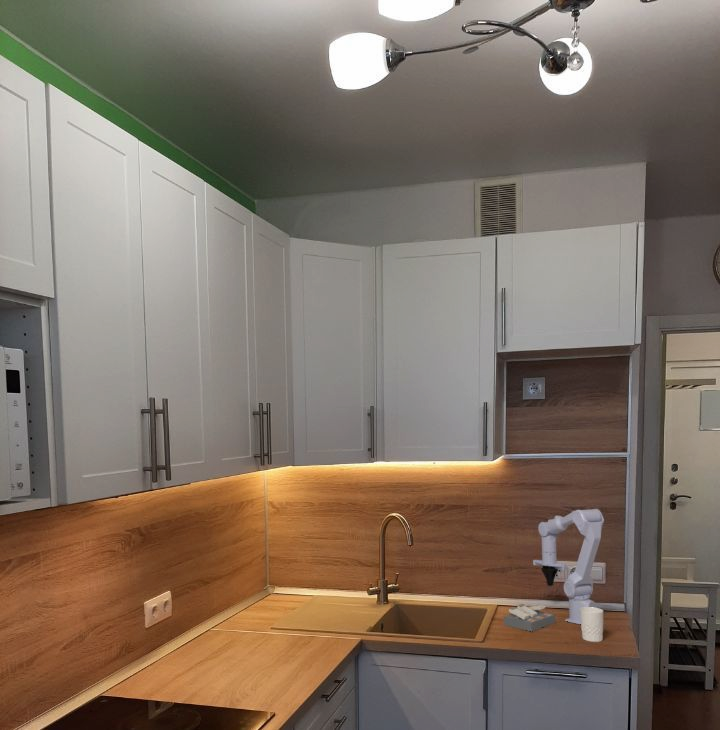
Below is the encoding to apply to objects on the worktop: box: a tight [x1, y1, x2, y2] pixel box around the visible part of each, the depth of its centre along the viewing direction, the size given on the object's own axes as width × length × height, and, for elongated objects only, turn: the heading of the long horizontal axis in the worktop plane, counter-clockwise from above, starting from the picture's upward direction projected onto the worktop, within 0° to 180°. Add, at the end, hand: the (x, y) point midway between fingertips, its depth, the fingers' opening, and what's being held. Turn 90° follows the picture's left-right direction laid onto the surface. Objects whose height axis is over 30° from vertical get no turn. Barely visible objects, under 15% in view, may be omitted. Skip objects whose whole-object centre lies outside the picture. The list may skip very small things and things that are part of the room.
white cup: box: [580, 607, 604, 643], centre depth 230 cm, size 8×8×10 cm
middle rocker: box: [516, 603, 537, 617], centre depth 248 cm, size 7×4×1 cm, turn 41°
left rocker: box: [508, 606, 529, 620], centre depth 245 cm, size 7×4×1 cm, turn 41°
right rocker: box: [527, 604, 546, 611], centre depth 252 cm, size 7×4×1 cm, turn 44°
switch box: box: [503, 610, 556, 633], centre depth 247 cm, size 12×16×4 cm
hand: (550, 585), depth 267 cm, fingers closed
